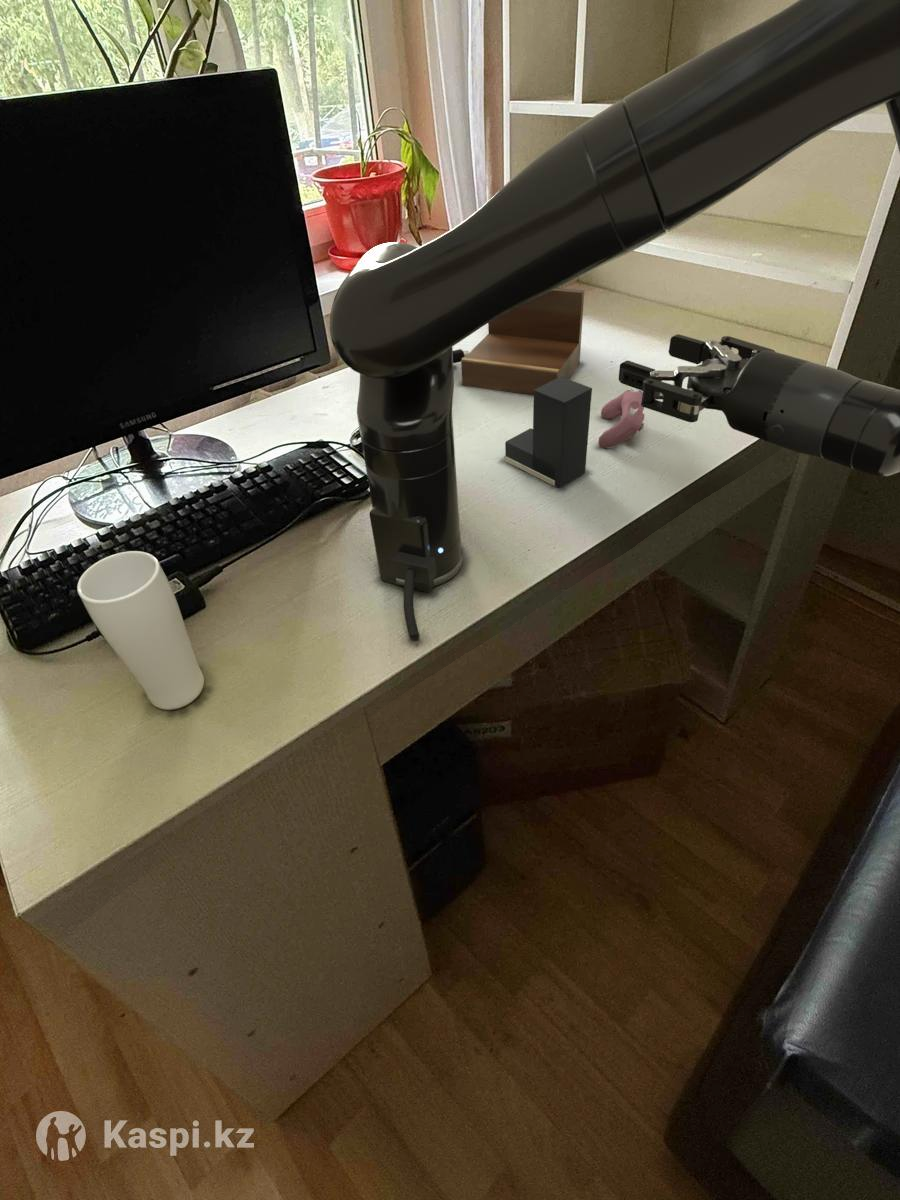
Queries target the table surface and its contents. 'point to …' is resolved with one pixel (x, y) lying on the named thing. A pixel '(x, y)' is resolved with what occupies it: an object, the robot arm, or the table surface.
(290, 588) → the table surface
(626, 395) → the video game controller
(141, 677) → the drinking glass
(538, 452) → the dark l-shaped block
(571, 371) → the wooden l-shaped stand
